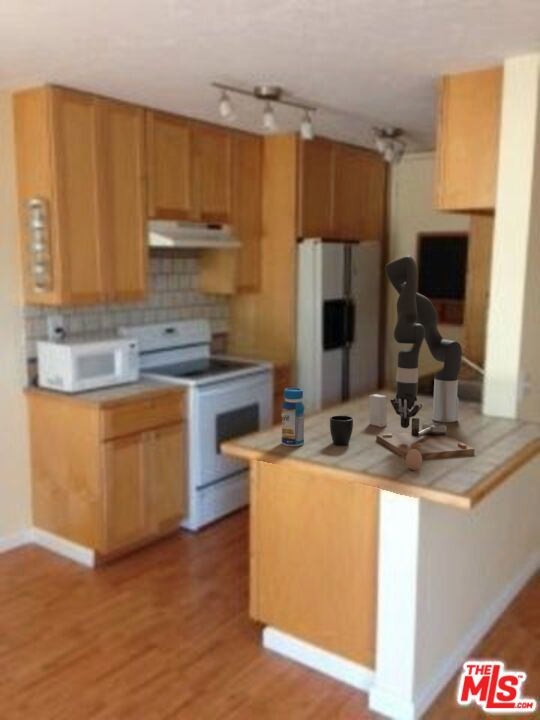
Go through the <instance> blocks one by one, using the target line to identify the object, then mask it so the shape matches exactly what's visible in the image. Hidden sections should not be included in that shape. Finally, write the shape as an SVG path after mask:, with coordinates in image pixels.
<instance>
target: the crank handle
mask: <svg viewBox="0 0 540 720" xmlns="http://www.w3.org/2000/svg"><path fill="white" fill-rule="evenodd" d="M447 429H448V426H447V425H446V424H445V423H442V422H425V423H421V430H420V418H419V417H411V431H410V432H411V435H412V437H416V438H418V437H420V436H422V435H425V434H428V435H445V434H446V435H447V432H448V431H447Z"/></svg>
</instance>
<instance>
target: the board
mask: <svg viewBox="0 0 540 720" xmlns="http://www.w3.org/2000/svg"><path fill="white" fill-rule="evenodd" d="M375 437H376V438H375V440H376V441H377V442H378V443H380V444H382V445H383V446H384V447H387V448H388V449H390V450H392V452H394V453H396V454H397V455H399V456H401V457H402V458H403V459H405V460H406V456H407V454H408V452H409V451H410V450H412V449H416V450H418V451H419V452H420V454H421V456H422V460H427V459H428V460H429V459H438V458H449V457H459V456H460V457H461V456H471V455H473V456H474V455H475V450H476V449H475V448H474V447H472V446H470V445H468V444H466V443H464V442H462V441H459V440H457V439H456V438H453V437H451V436H449V435H447V433H446V434H445V435H428V434H425V435H422V436H420V437H418V438H416V437H412V435H411V431H410V432H397V433H396V432H395V433H383V434H376V435H375Z"/></svg>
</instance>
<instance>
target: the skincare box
mask: <svg viewBox="0 0 540 720" xmlns="http://www.w3.org/2000/svg"><path fill="white" fill-rule="evenodd" d="M368 404H369V411H368V412H369V415H368V417H369V421H368V423H369V425H372V426H376V427H379V428H383V427H386V426H387V425H388V396H387V395H382V394H377V393H375V394H369V402H368Z"/></svg>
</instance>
